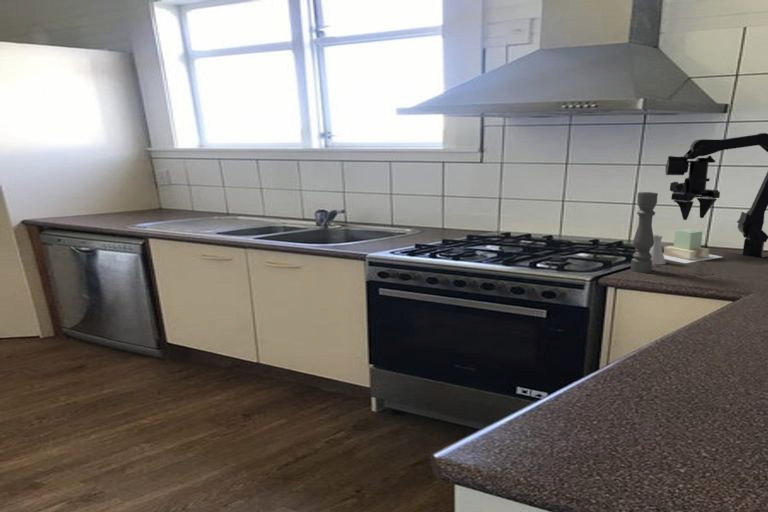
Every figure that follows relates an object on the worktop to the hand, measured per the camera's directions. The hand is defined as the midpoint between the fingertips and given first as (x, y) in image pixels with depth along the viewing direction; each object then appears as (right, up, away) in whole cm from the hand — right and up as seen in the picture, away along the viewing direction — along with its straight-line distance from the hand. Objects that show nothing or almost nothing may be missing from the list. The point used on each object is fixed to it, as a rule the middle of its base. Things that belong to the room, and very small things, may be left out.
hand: (693, 218), depth 198 cm
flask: (-21, -17, -13) cm, 29 cm away
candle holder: (-28, -18, -20) cm, 39 cm away
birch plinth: (-6, -13, -5) cm, 16 cm away
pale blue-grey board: (-6, -14, -5) cm, 16 cm away
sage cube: (-6, -11, -6) cm, 13 cm away
